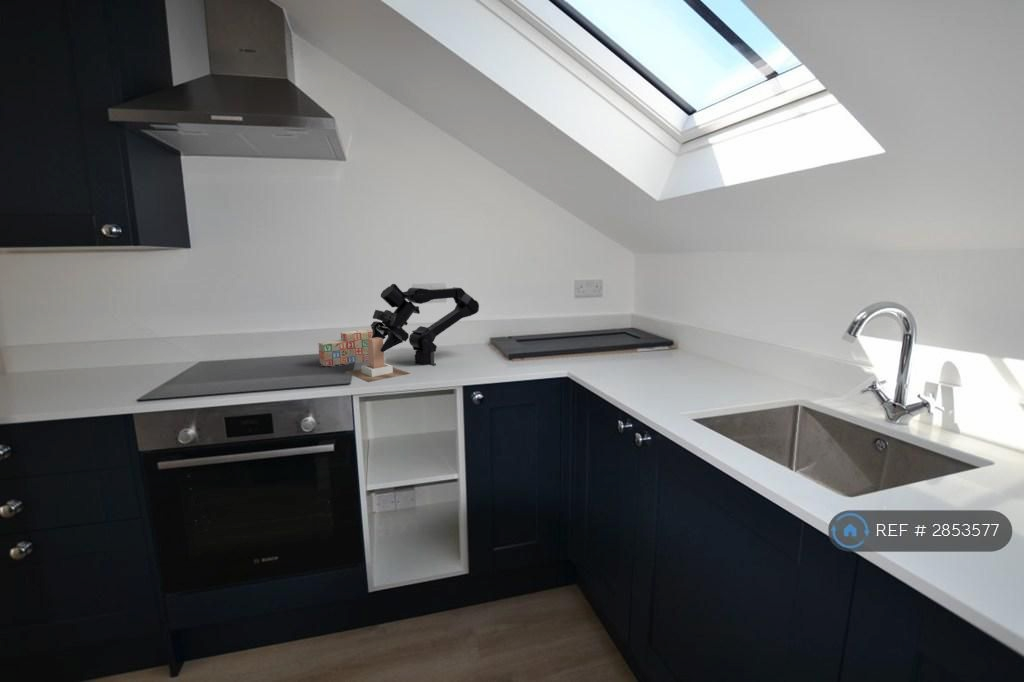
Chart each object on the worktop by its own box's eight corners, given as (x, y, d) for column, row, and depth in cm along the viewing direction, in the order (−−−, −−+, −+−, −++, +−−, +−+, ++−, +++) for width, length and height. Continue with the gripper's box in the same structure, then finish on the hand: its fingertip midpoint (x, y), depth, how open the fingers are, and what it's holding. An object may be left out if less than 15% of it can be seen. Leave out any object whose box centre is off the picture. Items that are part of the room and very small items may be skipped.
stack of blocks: (325, 368, 183) (322, 336, 181) (319, 365, 188) (317, 334, 186) (377, 359, 196) (375, 330, 194) (371, 357, 201) (369, 328, 199)
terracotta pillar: (379, 370, 173) (377, 337, 171) (385, 372, 170) (382, 338, 168) (369, 372, 170) (367, 338, 168) (374, 374, 167) (372, 340, 165)
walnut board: (385, 367, 183) (385, 364, 182) (410, 376, 169) (410, 373, 169) (345, 375, 172) (344, 371, 172) (368, 385, 158) (368, 382, 158)
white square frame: (382, 368, 176) (381, 362, 175) (392, 372, 170) (392, 365, 169) (361, 372, 170) (361, 365, 170) (372, 376, 165) (371, 369, 164)
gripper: (373, 299, 176) (347, 332, 170) (398, 303, 162) (371, 339, 157) (394, 318, 182) (369, 350, 177) (420, 323, 169) (393, 358, 163)
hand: (375, 349), depth 168 cm, fingers open, 9 cm apart
